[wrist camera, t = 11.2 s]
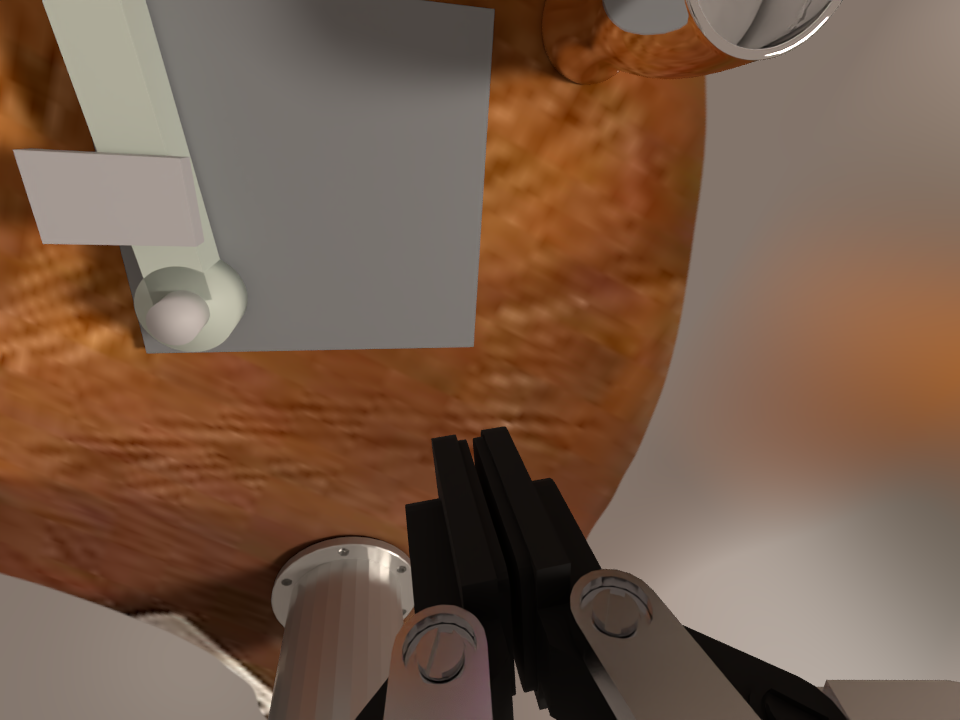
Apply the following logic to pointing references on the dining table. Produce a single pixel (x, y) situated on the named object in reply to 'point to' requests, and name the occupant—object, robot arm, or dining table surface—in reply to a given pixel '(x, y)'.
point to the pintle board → (306, 168)
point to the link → (149, 131)
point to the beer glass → (673, 35)
